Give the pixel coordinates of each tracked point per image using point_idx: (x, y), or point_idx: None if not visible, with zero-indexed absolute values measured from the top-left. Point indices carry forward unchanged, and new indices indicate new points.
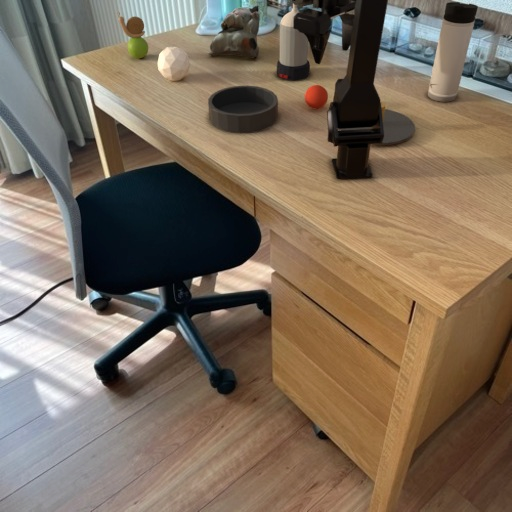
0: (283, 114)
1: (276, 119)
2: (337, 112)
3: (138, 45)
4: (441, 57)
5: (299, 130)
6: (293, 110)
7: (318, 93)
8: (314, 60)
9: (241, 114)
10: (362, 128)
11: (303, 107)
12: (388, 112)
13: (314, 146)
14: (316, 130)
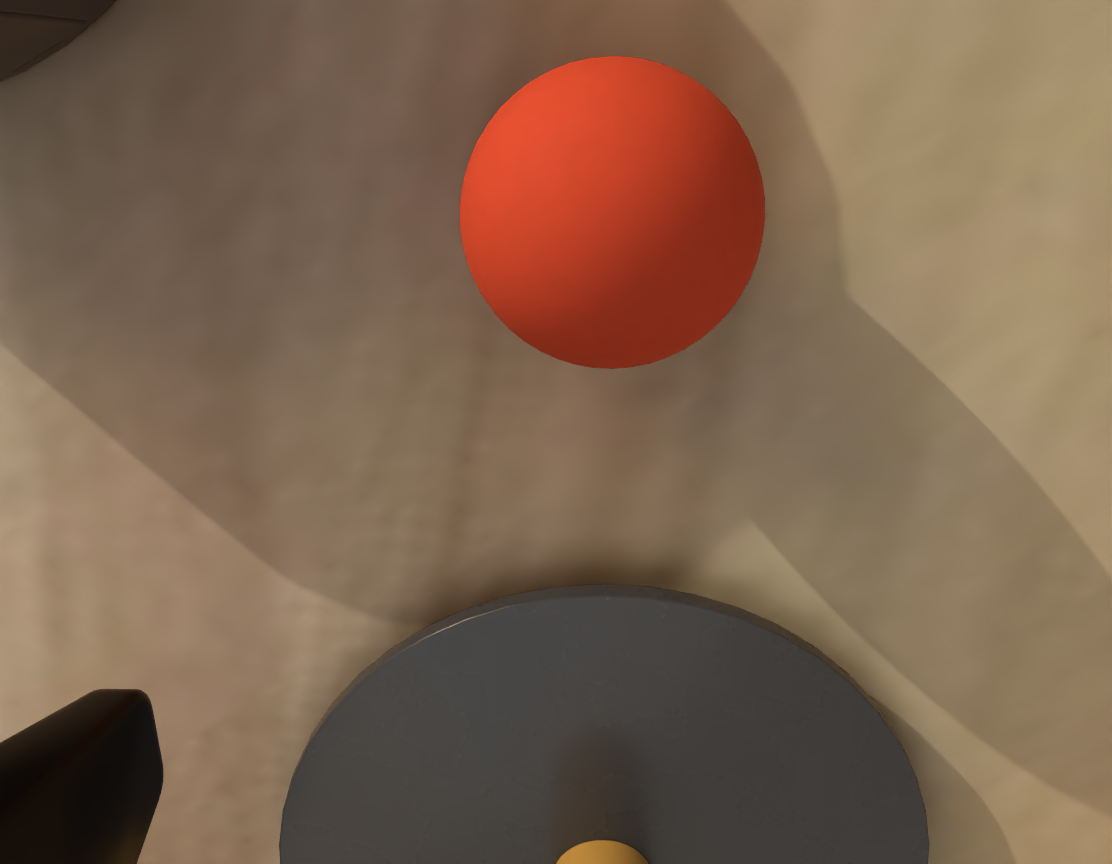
0: (218, 9)
1: (38, 58)
2: None
3: None
4: None
5: (97, 391)
6: (380, 33)
7: (531, 326)
8: (56, 715)
9: None
10: (458, 837)
11: (523, 76)
12: (869, 845)
13: (5, 657)
14: (223, 509)
